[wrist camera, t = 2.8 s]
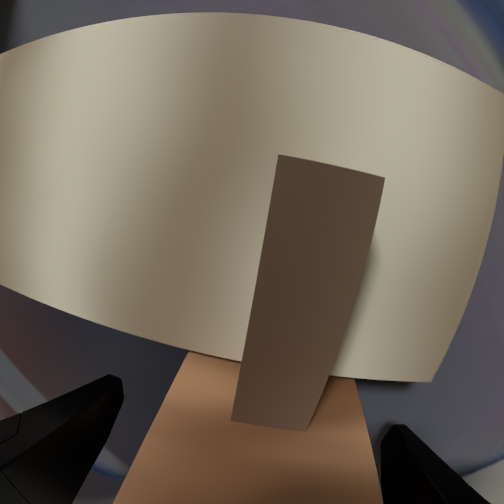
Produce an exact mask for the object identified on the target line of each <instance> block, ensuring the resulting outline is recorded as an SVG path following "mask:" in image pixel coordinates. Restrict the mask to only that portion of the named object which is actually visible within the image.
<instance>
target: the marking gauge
mask: <svg viewBox="0 0 504 504" xmlns="http://www.w3.org/2000/svg"><path fill="white" fill-rule="evenodd" d="M384 182H385V177H381V176H377V175H373V174H369V173H365V172H361V171H357V170H353V169H349V168H344V167H340V166H335V165H331V164H326V163H322V162H317V161H312V160H307V159H302V158H297V157H291V156H286V155H280V154H278V159H277V165H276V171H275V177H274V183H273V188H272V194H271V200H270V206H269V212H268V217H267V223H266V229H265V234H264V240H263V246H262V251H261V257H260V263H259V268H258V274H257V280H256V285H255V291H254V296H253V302H252V307H251V313H250V318H249V324H248V329H247V335H246V340H245V346H244V351H243V356H242V362H241V361H236V360H231V359H227V358H222V357H217V356H213V355H208V354H204V353H200V352H195V351H191V350H189V352H188V354H187V356H186V358H185V360H184V362H183V364H182V366H181V368H180V370H179V372H178V374H177V375H176V377H175V379H174V381H173V384H172V385H171V387H170V389H169V391H168V393H167V395H166V397H165V399H164V401H163V403H162V405H161V407H160V409H159V411H158V413H157V415H156V417H155V419H154V421H153V423H152V425H151V427H150V429H149V431H148V434H147V435H146V437H145V439H144V441H143V443H142V445H141V447H140V449H139V451H138V454H137V455H136V457H135V460H134V461H133V464H132V466H131V468H130V470H129V472H128V474H127V476H126V478H125V480H124V482H123V484H122V486H121V488H120V490H119V492H118V494H117V496H116V498H115V500H114V503H113V504H383V499H382V494H381V489H380V484H379V479H378V474H377V469H376V465H375V460H374V456H373V451H372V447H371V442H370V438H369V434H368V430H367V426H366V422H365V418H364V414H363V410H362V406H361V402H360V398H359V394H358V390H357V387H356V383H355V379H354V378H350V377H340V376H331V375H330V372H331V369H332V367H333V364H334V361H335V359H336V356H337V353H338V350H339V348H340V345H341V342H342V339H343V336H344V333H345V330H346V327H347V324H348V321H349V318H350V315H351V312H352V309H353V306H354V302H355V299H356V296H357V293H358V289H359V286H360V282H361V279H362V275H363V272H364V268H365V264H366V261H367V257H368V253H369V249H370V245H371V241H372V237H373V233H374V229H375V225H376V220H377V216H378V211H379V207H380V202H381V197H382V192H383V187H384Z"/></svg>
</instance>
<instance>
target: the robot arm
mask: <svg viewBox="0 0 504 504" xmlns="http://www.w3.org/2000/svg"><path fill="white" fill-rule="evenodd" d="M123 401H124V393H123V384H122V380H121V378H119V377H117V376H114V375H111V374H109V375H106V376H104V377H101V378H99V379H97V380H95V381H93V382H91V383H88V384H86V385H84V386H82V387H80V388H77V389H75V390H73V391H71V392H68V393H66V394H64V395H62V396H59V397H57V398H55V399H53V400H50V401H48V402H45V403H43V404H41V405H38V406H36V407H34V408H31V409H29V410H26V411H24V412H22V414H21V413H19V414H16V415H14V416H12V417H9V418H6V419H3V420H1V421H0V504H72V503H73V501H74V499H75V497H76V495H77V494H78V492H79V490H80V488H81V486H82V484H83V482H84V481H85V479H86V477H87V475H88V474H89V472H90V470H91V468H92V466H93V465H94V463H95V461H96V459H97V457H98V456H99V454H100V452H101V450H102V449H103V447H104V445H105V443H106V441H107V439H108V437H109V435H110V433H111V430H112V427H113V425H114V423H115V420H116V418H117V415H118V413H119V411H120V409H121V406H122V404H123ZM381 488H382V497H383V504H491V503H489V502H488V501H487V500H485V499H484V498H483V497H482V496H481V495H479V493H477V492H476V491H475V490H474V489H473V488H472V487H471V486H469V485H468V484H467V483H466V482H465V481H464V480H463V479H462V478H461V477H460V476H459V475H458V474H457V473H456V472H455V471H454V470H452V469H451V468H450V467H449V466H448V465H447V464H446V463H445V462H444V461H443V460H442V459H441V458H440V457H439V456H438V455H437V454H435V453H434V452H433V451H432V450H431V449H430V448H429V447H428V446H427V445H426V444H425V443H424V442H423V441H422V440H421V439H420V438H419V437H418V436H417V435H415V434H414V433H413V432H412V431H411V430H410V429H409V428H408V427H407V426H406V425H404V424H394V425H392V426H391V427H390V429H389V430H388V432H387V433H386V435H385V436H384V438H383V439H382V442H381Z"/></svg>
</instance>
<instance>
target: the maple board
mask: <svg viewBox="0 0 504 504" xmlns="http://www.w3.org/2000/svg"><path fill="white" fill-rule="evenodd" d="M503 153H504V94H502V93H501V92H499V91H498V90H496V89H494V88H492V87H491V86H489V85H487V84H485V83H484V82H482V81H480V80H478V79H476V78H474V77H473V76H471V75H469V74H467V73H465V72H463V71H461V70H459V69H457V68H455V67H452V66H450V65H448V64H446V63H444V62H442V61H439V60H437V59H435V58H432V57H430V56H428V55H425V54H423V53H420V52H418V51H415V50H412V49H410V48H407V47H404V46H401V45H399V44H396V43H393V42H390V41H387V40H383V39H380V38H377V37H374V36H370V35H367V34H363V33H360V32H356V31H352V30H348V29H344V28H339V27H335V26H330V25H326V24H321V23H315V22H310V21H304V20H298V19H291V18H284V17H276V16H266V15H255V14H241V13H177V14H163V15H152V16H143V17H135V18H127V19H121V20H115V21H109V22H104V23H99V24H94V25H89V26H85V27H81V28H77V29H73V30H69V31H65V32H61V33H58V34H54V35H51V36H48V37H45V38H42V39H39V40H36V41H33V42H30V43H27V44H24V45H22V46H19V47H16V48H14V49H11V50H9V51H6V52H4V53H2V54H0V284H1V285H3V286H5V287H7V288H9V289H12V290H14V291H16V292H18V293H20V294H23V295H25V296H27V297H30V298H32V299H34V300H37V301H39V302H42V303H44V304H47V305H49V306H52V307H54V308H57V309H60V310H62V311H64V312H67V313H70V314H73V315H75V316H78V317H81V318H84V319H86V320H89V321H93V322H95V323H98V324H101V325H104V326H107V327H110V328H114V329H116V330H119V331H123V332H126V333H129V334H133V335H136V336H139V337H143V338H146V339H150V340H153V341H157V342H161V343H164V344H168V345H172V346H175V347H179V348H183V349H187V350H191V351H195V352H200V353H204V354H208V355H213V356H217V357H222V358H227V359H231V360H236V361H241V362H242V356H243V351H244V346H245V340H246V335H247V329H248V324H249V318H250V313H251V307H252V302H253V296H254V291H255V285H256V280H257V274H258V268H259V263H260V257H261V251H262V246H263V240H264V234H265V229H266V223H267V217H268V212H269V206H270V200H271V194H272V188H273V183H274V177H275V171H276V165H277V159H278V154H280V155H286V156H291V157H297V158H302V159H307V160H312V161H317V162H322V163H326V164H331V165H335V166H340V167H344V168H349V169H353V170H357V171H361V172H365V173H369V174H373V175H377V176H381V177H385V182H384V187H383V192H382V197H381V202H380V207H379V211H378V216H377V220H376V225H375V229H374V233H373V237H372V241H371V245H370V249H369V253H368V257H367V261H366V264H365V268H364V272H363V275H362V279H361V282H360V286H359V289H358V293H357V296H356V299H355V302H354V306H353V309H352V312H351V315H350V318H349V321H348V324H347V327H346V330H345V333H344V336H343V339H342V342H341V345H340V348H339V350H338V353H337V356H336V359H335V361H334V364H333V367H332V369H331V372H330V375H331V376H340V377H350V378H361V379H374V380H389V381H409V382H431V381H432V379H433V377H434V375H435V374H436V372H437V370H438V368H439V366H440V364H441V362H442V360H443V358H444V356H445V354H446V352H447V350H448V348H449V346H450V343H451V341H452V339H453V337H454V335H455V332H456V330H457V328H458V326H459V323H460V321H461V318H462V316H463V313H464V311H465V308H466V306H467V303H468V301H469V298H470V295H471V292H472V290H473V287H474V284H475V281H476V278H477V275H478V272H479V269H480V266H481V262H482V259H483V256H484V252H485V248H486V245H487V241H488V237H489V233H490V229H491V225H492V221H493V216H494V211H495V206H496V201H497V196H498V190H499V184H500V178H501V170H502V162H503Z"/></svg>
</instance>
